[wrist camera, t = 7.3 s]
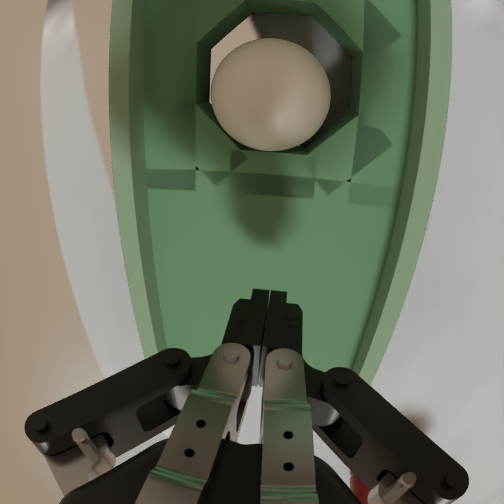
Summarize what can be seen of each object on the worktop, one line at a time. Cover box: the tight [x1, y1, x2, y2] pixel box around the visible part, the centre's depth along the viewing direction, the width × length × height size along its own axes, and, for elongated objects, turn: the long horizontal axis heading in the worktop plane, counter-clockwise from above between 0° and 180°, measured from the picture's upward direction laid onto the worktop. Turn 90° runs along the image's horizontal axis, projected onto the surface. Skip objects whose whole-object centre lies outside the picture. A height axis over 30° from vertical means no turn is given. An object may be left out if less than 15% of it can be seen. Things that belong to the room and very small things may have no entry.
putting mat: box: [109, 0, 452, 385], centre depth 15 cm, size 25×14×4 cm, turn 178°
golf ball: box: [211, 38, 331, 151], centre depth 12 cm, size 5×5×5 cm
